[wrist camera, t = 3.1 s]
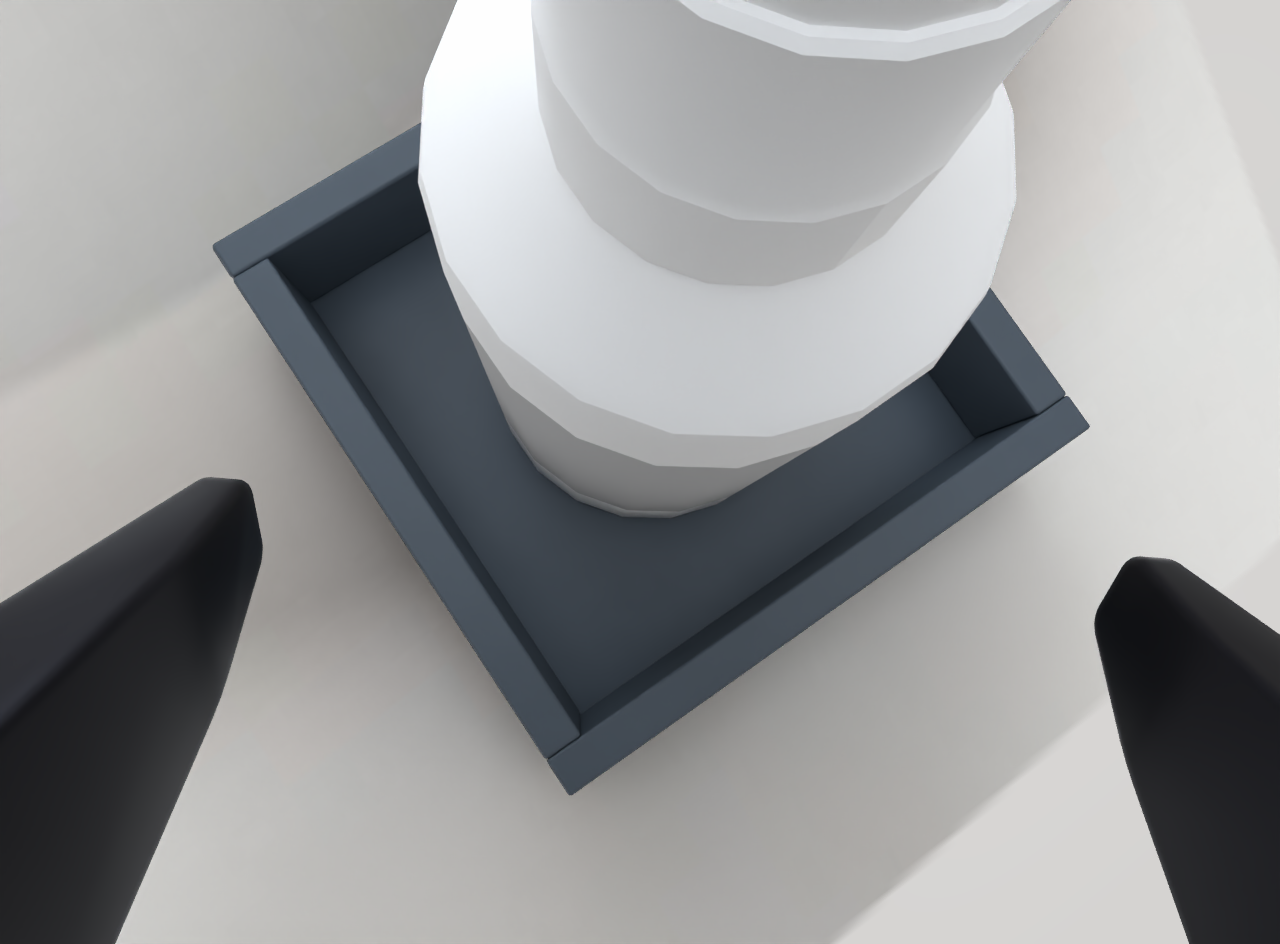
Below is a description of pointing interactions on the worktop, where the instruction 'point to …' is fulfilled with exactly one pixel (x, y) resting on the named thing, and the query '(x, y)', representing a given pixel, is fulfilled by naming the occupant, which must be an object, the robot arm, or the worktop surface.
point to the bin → (588, 536)
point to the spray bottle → (714, 220)
